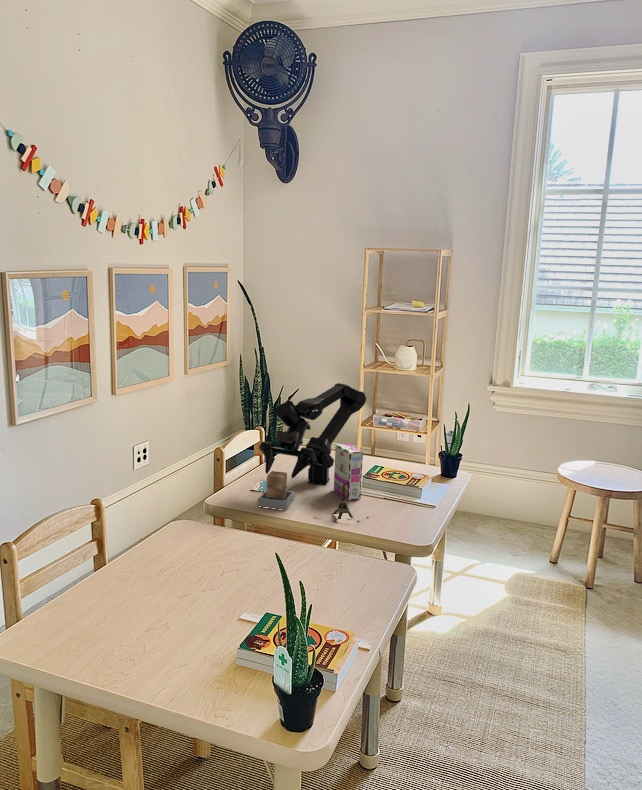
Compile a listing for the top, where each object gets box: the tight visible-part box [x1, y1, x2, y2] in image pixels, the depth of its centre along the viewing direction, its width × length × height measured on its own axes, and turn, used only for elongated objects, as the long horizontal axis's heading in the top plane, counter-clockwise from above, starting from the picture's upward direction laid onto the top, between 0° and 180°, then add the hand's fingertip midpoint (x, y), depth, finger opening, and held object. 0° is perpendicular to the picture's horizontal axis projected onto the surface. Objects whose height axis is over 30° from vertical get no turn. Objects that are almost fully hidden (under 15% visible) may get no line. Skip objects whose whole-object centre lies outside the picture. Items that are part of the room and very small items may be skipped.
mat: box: [254, 479, 267, 491], centre depth 225 cm, size 10×10×1 cm
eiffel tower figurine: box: [332, 480, 354, 519], centre depth 200 cm, size 15×10×13 cm
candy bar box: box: [333, 443, 364, 502], centre depth 218 cm, size 11×5×16 cm, turn 25°
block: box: [266, 470, 288, 501], centre depth 209 cm, size 5×5×10 cm
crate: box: [257, 490, 296, 511], centre depth 209 cm, size 9×9×3 cm
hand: (279, 475), depth 210 cm, fingers open, 9 cm apart
